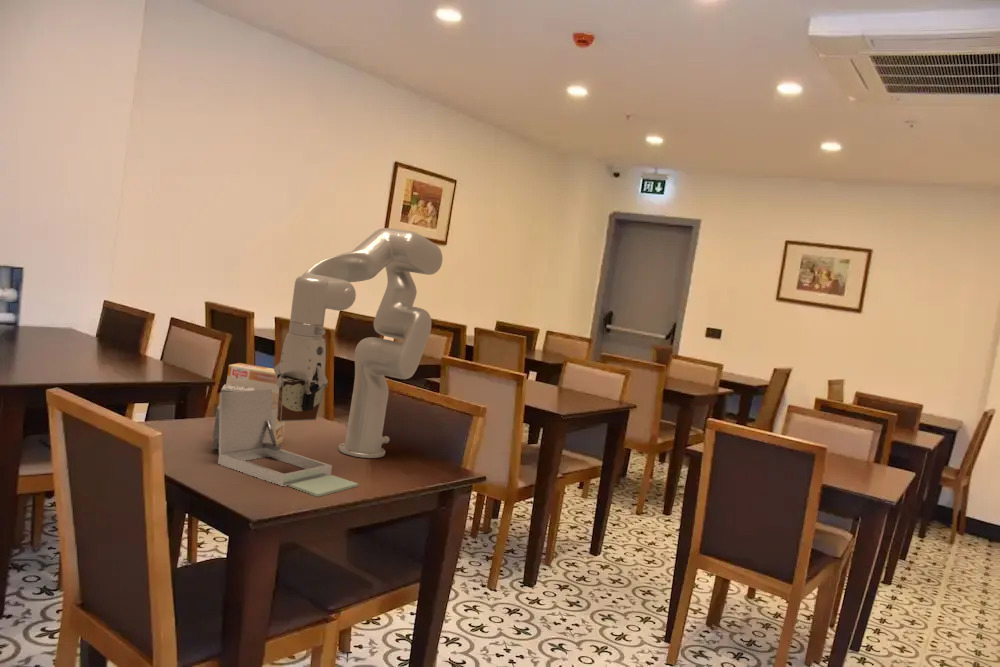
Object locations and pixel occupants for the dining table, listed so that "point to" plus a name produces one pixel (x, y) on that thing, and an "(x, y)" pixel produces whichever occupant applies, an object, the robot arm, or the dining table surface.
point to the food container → (295, 400)
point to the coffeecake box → (259, 388)
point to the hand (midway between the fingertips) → (296, 406)
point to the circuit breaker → (216, 428)
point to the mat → (324, 485)
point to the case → (258, 439)
